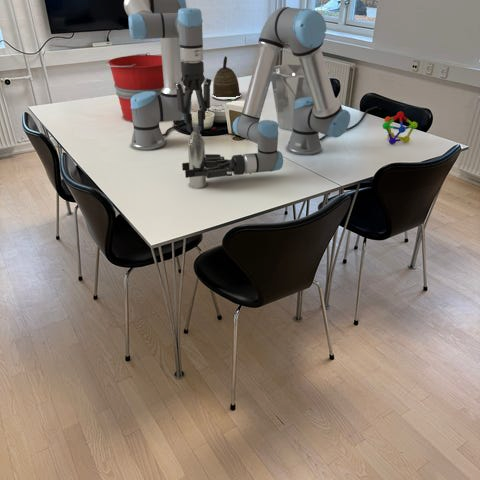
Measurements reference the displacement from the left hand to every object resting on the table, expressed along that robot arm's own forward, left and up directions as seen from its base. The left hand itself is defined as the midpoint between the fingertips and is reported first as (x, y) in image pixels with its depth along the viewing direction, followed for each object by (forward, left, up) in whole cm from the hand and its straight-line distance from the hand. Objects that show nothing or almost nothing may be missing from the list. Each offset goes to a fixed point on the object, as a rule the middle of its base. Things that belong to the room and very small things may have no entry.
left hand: (195, 130), depth 159 cm
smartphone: (-23, +1, -21) cm, 31 cm away
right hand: (+2, -5, -15) cm, 16 cm away
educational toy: (-58, +84, -21) cm, 104 cm away
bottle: (0, 0, -21) cm, 21 cm away
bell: (-131, -8, -21) cm, 133 cm away
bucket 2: (-79, +36, -21) cm, 90 cm away
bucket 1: (-86, -47, -21) cm, 100 cm away
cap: (0, 0, +1) cm, 1 cm away
